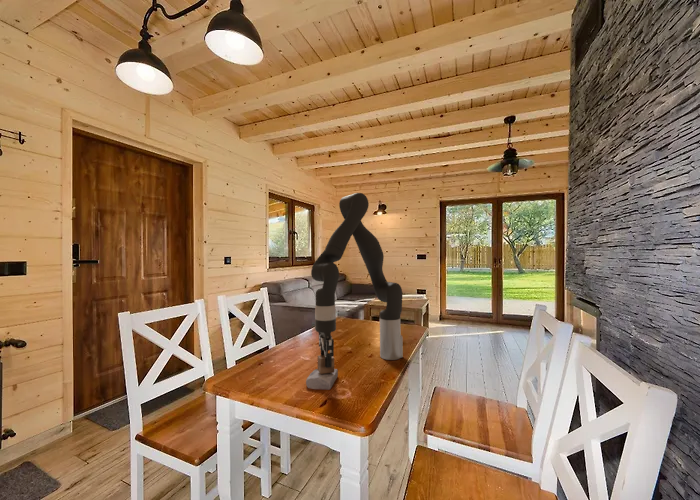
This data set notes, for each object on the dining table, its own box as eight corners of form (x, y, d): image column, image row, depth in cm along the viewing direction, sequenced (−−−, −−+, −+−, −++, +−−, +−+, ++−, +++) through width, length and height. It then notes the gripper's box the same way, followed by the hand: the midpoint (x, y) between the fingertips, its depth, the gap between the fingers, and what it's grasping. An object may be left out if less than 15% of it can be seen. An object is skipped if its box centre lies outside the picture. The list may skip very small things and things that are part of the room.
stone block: (304, 394, 99) (332, 390, 97) (302, 380, 99) (329, 376, 97) (315, 380, 110) (340, 377, 109) (313, 368, 111) (337, 364, 109)
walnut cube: (330, 368, 107) (330, 354, 107) (334, 372, 102) (334, 358, 103) (317, 369, 105) (317, 355, 106) (320, 373, 101) (320, 359, 101)
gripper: (340, 320, 98) (341, 369, 98) (330, 312, 112) (331, 355, 112) (319, 322, 96) (320, 372, 96) (311, 314, 109) (312, 358, 109)
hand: (326, 363), depth 104 cm, fingers open, 6 cm apart
